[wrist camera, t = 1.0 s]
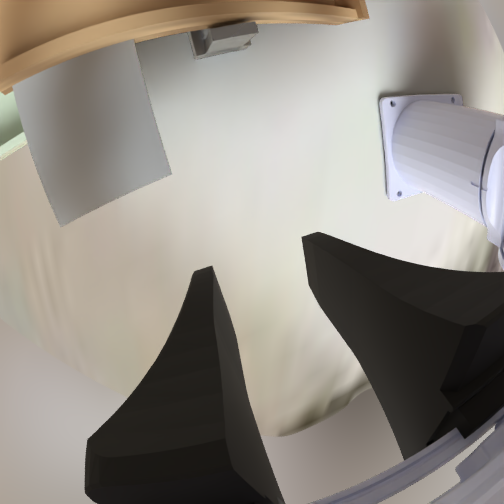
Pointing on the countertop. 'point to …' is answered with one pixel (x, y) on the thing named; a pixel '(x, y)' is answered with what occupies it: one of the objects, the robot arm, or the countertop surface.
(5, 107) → the dish
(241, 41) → the fulcrum
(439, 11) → the countertop surface
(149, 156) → the lever
